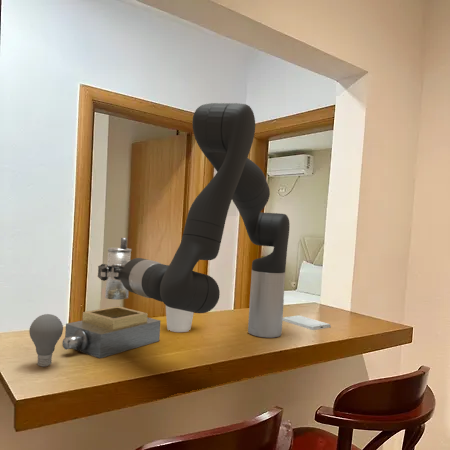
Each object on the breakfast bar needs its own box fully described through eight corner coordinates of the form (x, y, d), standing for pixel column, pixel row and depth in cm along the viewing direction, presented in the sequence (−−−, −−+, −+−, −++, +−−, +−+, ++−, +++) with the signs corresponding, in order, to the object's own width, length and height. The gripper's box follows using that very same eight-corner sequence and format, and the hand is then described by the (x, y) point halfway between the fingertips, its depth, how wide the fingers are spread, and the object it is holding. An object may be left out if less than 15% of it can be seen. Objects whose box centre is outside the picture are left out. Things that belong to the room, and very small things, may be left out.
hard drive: (282, 317, 132) (313, 326, 122) (300, 315, 137) (330, 323, 127) (282, 322, 132) (312, 331, 122) (299, 320, 137) (330, 328, 127)
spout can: (117, 294, 101) (121, 237, 101) (133, 297, 98) (136, 238, 98) (99, 296, 97) (103, 236, 97) (115, 300, 94) (119, 238, 94)
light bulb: (59, 370, 79) (62, 318, 79) (24, 372, 77) (27, 318, 77) (62, 360, 84) (65, 311, 84) (30, 361, 83) (32, 311, 83)
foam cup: (190, 335, 108) (193, 285, 108) (156, 331, 110) (159, 282, 110) (199, 326, 118) (202, 281, 117) (168, 323, 119) (171, 278, 119)
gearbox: (125, 331, 108) (127, 303, 108) (159, 341, 102) (161, 311, 102) (48, 349, 90) (50, 316, 90) (83, 363, 83) (85, 327, 83)
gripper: (177, 259, 91) (141, 252, 104) (114, 260, 82) (84, 252, 95) (175, 294, 91) (140, 282, 104) (112, 298, 82) (82, 285, 95)
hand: (113, 268), depth 99 cm, fingers closed on spout can, 5 cm apart
